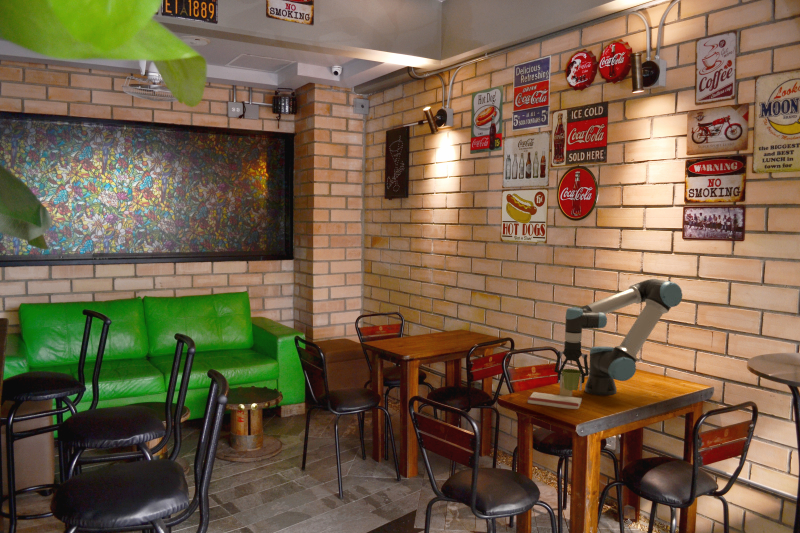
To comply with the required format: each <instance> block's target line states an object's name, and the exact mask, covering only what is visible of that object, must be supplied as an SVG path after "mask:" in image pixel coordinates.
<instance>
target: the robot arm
mask: <svg viewBox="0 0 800 533" xmlns="http://www.w3.org/2000/svg"><path fill="white" fill-rule="evenodd" d="M682 299H683V292H682V288H681V287H680V285H679V284H678V283H676V282H672V281H670V280H663V279H656V278H652V279H651V278H650V279H646V280H643V281H640V282H637V283H635V284H632V285H630V286H628V288H627V289H625V290H623V291H622V290H621V291H620V292H618V293H615V294H612V295H609V296H607V297H604V298H602V299H599V300H596V301H594V302H591V303H588V304H586V305H583V306H580V307H579V306H573V307H568V308H567V309H566V311H565V323H564V324H565V326H564V328H565V330H564V349H563V351H560V350H558V351H557V352H556V354H557V358H556V362H555V367H554V373H557V374H558V375H557V380H558V381H559V389H560V388H562V385H563V374H562V370H563V369H565V367H566V364H567V363H568V362H569V361H571V362H572V361H573V362H575V363H576V365H577V367H578V370H580V373H581V376H580V379H579V386H578V389H579V391H582V389H583V388H582V387H583V384H584V383H585V377H587V376H588V378H587V379H586V383H585V385H584V391H585V392H586V393H587V394H590V395H592V396H593V395H594V396H604V397H606V396H612V395H613V396H614V395H615V394H617V392H618V391H617V386H616V383H615V382H616V381H620V382H626V381H628V380H630V379H632V377H634V376H635V374H636V372H637V368H636V367H637V365H636V363H637V361H638V357H637V355H638V354H639V352H640V350H641V349H642V347H643V345H644V344H645V343H646V342H647V339H648V338H649V336H650V335H651V333H652V332H653V330H654V329H655V327H656V325H657V324H658V322H659V321H660V319H661V318H662V316H663V315H664V314H667V313H669V311H670V310H671V308H675V307H677V306H678V305H680V304H681V302H682ZM641 303H645V305H644V307H643V309H642V310H641V311H640V314H639V315H638V317H637V318H636V320H635V321H634V323H633V324H632V326H631V327H630V329H629V330H628V332H627V333H626V335H625V336H624V338H623V340H622V341H621V343H620V344H619V345H617V346H613V347H612V346H592V347H591V348H590V350H589V354H588V353H582V335H583V334H582V331H583V329H604V328H605V327H606V326H607V323H608V319H607V318H608V317H607V314H610V313H612V312H615V311H617V310H620V309H623V308H625V307H628V306H630V305H633V304H637V305H638V304H639V305H640V304H641ZM562 356H564V357H565V359H564V361H563V363H562V364H561V363H560V362H561V358H562ZM588 356H589V364H588ZM581 357H582V359H583V365H584V368H583V367H582V364H581V361H580V358H581ZM560 364H561V366H560V368H559V365H560ZM615 380H616V381H615Z"/></svg>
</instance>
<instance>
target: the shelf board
mask: <svg viewBox="0 0 800 533" xmlns="http://www.w3.org/2000/svg"><path fill="white" fill-rule="evenodd" d="M582 400H583V399H582V397H575V396H572V397H569V396H561V395H560V394H552V393H545V392H543V393H542V392H536V391H533V392H532V394H531V395H530V396H528V397H527V404H534V405H540V406H541V405H542V406H549V407H555V408H563V409H569V410H570V409H571V410H572V409H573V410H579V408H580V406H581V403H582Z"/></svg>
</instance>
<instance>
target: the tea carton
mask: <svg viewBox="0 0 800 533" xmlns="http://www.w3.org/2000/svg"><path fill="white" fill-rule="evenodd" d="M559 395H561V396H569V397H573V390H572V391H570V390H566V389H564V380H563V385H562V388H560V387H559Z"/></svg>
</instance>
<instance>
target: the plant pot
mask: <svg viewBox="0 0 800 533" xmlns="http://www.w3.org/2000/svg"><path fill="white" fill-rule="evenodd" d="M561 373H562V374H563V380H564V389H566V390H570V391H572V392H573V391H577V390H578V389H579V385H580V376H581V373H580V370H579V369H575V368H563V370H562V372H561Z"/></svg>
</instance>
